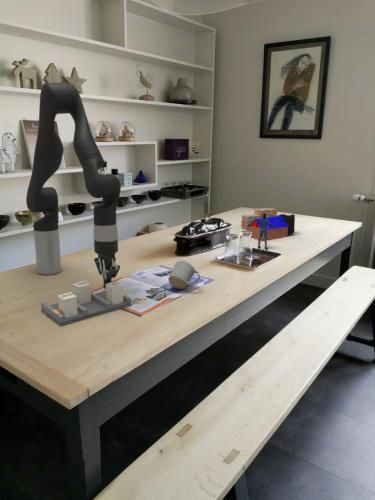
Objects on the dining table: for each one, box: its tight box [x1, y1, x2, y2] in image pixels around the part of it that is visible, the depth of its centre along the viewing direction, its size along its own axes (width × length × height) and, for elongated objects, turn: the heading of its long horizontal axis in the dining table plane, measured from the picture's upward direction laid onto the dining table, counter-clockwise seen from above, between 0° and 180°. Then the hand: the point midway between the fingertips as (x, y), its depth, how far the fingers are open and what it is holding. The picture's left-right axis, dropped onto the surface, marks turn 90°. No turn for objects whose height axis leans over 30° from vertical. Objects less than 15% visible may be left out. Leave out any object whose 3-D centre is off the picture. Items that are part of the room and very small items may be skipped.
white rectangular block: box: [105, 280, 124, 305], centre depth 134 cm, size 4×4×7 cm
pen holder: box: [277, 213, 296, 236], centre depth 233 cm, size 9×9×10 cm
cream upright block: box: [57, 291, 78, 319], centre depth 124 cm, size 4×4×7 cm
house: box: [247, 215, 288, 242], centre depth 227 cm, size 12×20×12 cm, turn 125°
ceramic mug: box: [168, 260, 201, 290], centre depth 149 cm, size 11×8×8 cm
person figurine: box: [256, 214, 276, 251], centre depth 202 cm, size 11×4×18 cm, turn 52°
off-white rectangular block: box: [72, 280, 92, 305], centre depth 133 cm, size 4×4×7 cm
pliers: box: [202, 197, 211, 220], centre depth 238 cm, size 10×1×20 cm, turn 144°
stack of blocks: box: [240, 207, 278, 231], centre depth 247 cm, size 21×6×12 cm, turn 117°
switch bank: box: [40, 290, 132, 327], centre depth 132 cm, size 14×24×3 cm, turn 131°
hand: (107, 288), depth 137 cm, fingers closed
